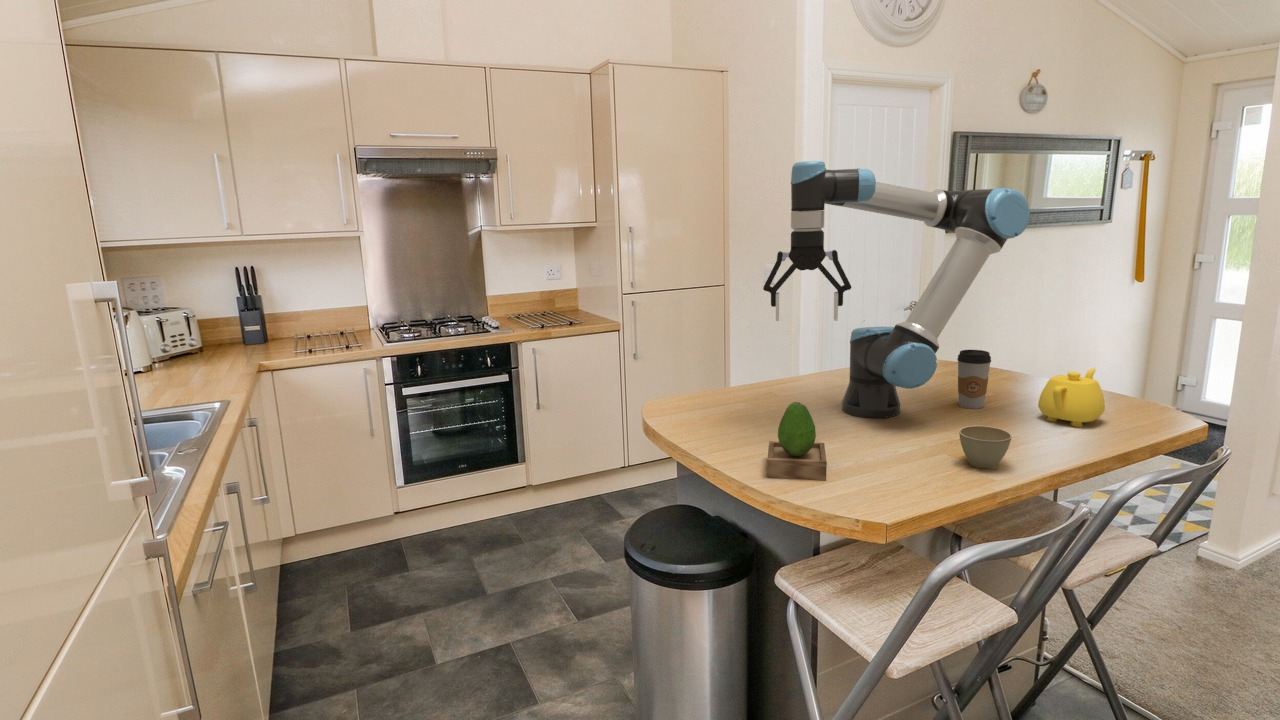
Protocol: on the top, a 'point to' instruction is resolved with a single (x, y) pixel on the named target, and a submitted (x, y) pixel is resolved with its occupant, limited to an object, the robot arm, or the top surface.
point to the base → (796, 463)
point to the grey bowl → (984, 445)
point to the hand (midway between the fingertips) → (806, 320)
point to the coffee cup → (973, 378)
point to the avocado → (796, 430)
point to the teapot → (1072, 398)
